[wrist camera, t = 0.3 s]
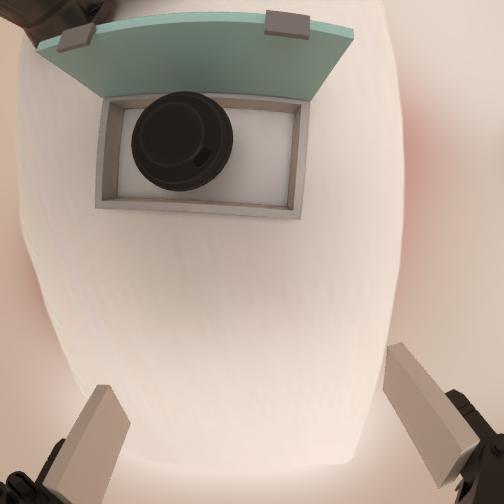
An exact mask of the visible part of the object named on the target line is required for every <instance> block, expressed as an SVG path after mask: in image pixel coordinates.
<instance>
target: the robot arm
mask: <svg viewBox="0 0 504 504" xmlns="http://www.w3.org/2000/svg"><path fill="white" fill-rule="evenodd" d="M112 5H113V0H0V17H2V18H4V19H6V20H8V21H10V22H12V23H14V24H16V25H18V26H20V27H21V28H23V29H24V31H25V32H26V34H27V36H28V37H29V39H30V41H31V42H32V44H33V45H34V47H35V48H36V49H37V48H38V45H39V42H42V41H45V40H48V39H51V38H54V37H57V36H60V35H62V33H63V31H65V30H68V29H71V28H75V27H78V26H82V25H86V24H90V23H94V24H95V25H101V24H103V22H104V21H105V19H106V18H107V16H108V14H109V12H110V10H111V8H112ZM383 391H384V393H385V394H386V396H387V398H388V399H389V401H390V403H391V405H392V406H393V408H394V409H395V411H396V413H397V415H398V416H399V418H400V420H401V422H402V423H403V425H404V427H405V429H406V430H407V432H408V434H409V436H410V438H411V439H412V441H413V443H414V444H415V446H416V448H417V450H418V452H419V454H420V455H421V457H422V459H423V461H424V463H425V465H426V466H427V468H428V470H429V472H430V474H431V476H432V477H433V479H434V481H435V483H436V485H437V487H438V489H439V488H441V487H443V486H445V485H447V484H448V483H451V482H452V481H454V480H455V479H456V478H457V476H458V475H459V474H461V475H462V477H463V479H462V480H461V482H460V483H459V484H458V486H457V487H456V489H455V491H457V490H458V489H459V491H458V494H457V498H456V501H455V504H504V434H502V433H501V434H497V433H495V431H494V430H493V429H492V428H491V427H490V425H489V424H488V423H487V422H486V421H485V420H484V418H483V417H482V416H481V415H480V413H479V412H478V411H477V410H475V407H474V406H473V405H472V404H470V401H469V400H468V399H467V398H466V397H465V395H464V394H462V393H460V392H458V391H456V390H454V389H453V390H451V391H449V392H447V393H444V392H443V391H442V390H441V389H440V387H439V386H438V385H437V384H436V383H435V381H434V380H433V379H432V378H431V376H430V375H429V374H428V373H427V372H426V370H424V368H423V367H422V366H421V365H420V363H419V362H418V361H417V360H416V359H415V358H414V356H413V355H412V354H411V353H410V352H409V351H408V349H407V348H406V347H405V346H404V344H403V343H398V344H394V345H391V346H388V347H387V356H386V367H385V376H384V385H383ZM130 424H131V422H130V421H129V419H128V417H127V415H126V414H125V412H124V410H123V408H122V407H121V405H120V403H119V401H118V399H117V397H116V396H115V394H114V392H113V390H112V388H111V386H110V385H97V387H96V388H95V390H94V392H93V393H92V395H91V397H90V398H89V400H88V402H87V403H86V405H85V407H84V408H83V410H82V412H81V414H80V415H79V417H78V419H77V420H76V422H75V424H74V426H73V428H72V429H71V431H70V433H69V435H68V436H67V438H66V439H63V438H62V439H61V440H60V441H59V442H58V443H57V444H56V445H55V446H54V448H53V450H52V452H51V455H49V457H48V461H46V463H45V465H44V466H43V468H42V470H41V472H40V474H39V476H38V478H37V479H36V481H35V483H34V482H33V481H32V480H31V479H30V478H29V477H28V476H27V475H26V474H25V473H24V472H21V471H16V472H13V473H12V474H10V475H9V476H8V478H7V480H6V485H5V484H4V483H2V482H0V504H101V503H102V500H103V497H104V494H105V492H106V489H107V486H108V483H109V480H110V477H111V474H112V472H113V469H114V466H115V464H116V461H117V458H118V455H119V453H120V450H121V447H122V445H123V442H124V440H125V437H126V434H127V432H128V429H129V427H130Z"/></svg>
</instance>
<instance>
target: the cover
mask: <svg viewBox="0 0 504 504" xmlns="http://www.w3.org/2000/svg"><path fill="white" fill-rule="evenodd" d="M353 40H354V33H353V29H350V28H346V27H342V26H338V25H333V24H329V23H324V22H318V21H313V20H310V16H308V15H301V14H295V13H288V12H279V11H270V10H266V14H258V13H242V12H190V13H174V14H163V15H154V16H146V17H138V18H132V19H126V20H120V21H115V22H110V23H105V24H101V25H95V24H94V23H90V24H86V25H82V26H78V27H75V28H71V29H68V30H65V31H63V33H62V35H60V36H57V37H54V38H51V39H48V40H45V41H42V42H39V45H38V48H37V50H36V52H38V53H39V54H40V55H42V56H43V57H45V58H46V59H48V60H49V61H51V62H52V63H54V64H55V65H56V66H58V67H59V68H61V69H62V70H64V71H65V72H66V73H68V74H69V75H71V76H72V77H74V78H75V79H76V80H78V81H79V82H81V83H82V84H83V85H85V86H86V87H88V88H89V89H90V90H92V91H93V92H95V93H96V94H97V95H99V96H100V97H101V98H104V97H112V96H121V95H132V94H146V93H166V92H180V91H191V92H222V93H242V94H256V95H267V96H277V97H286V98H294V99H301V100H308V101H311V100H312V98H313V97H314V95H315V94H316V92H317V91H318V90H319V88H320V87H321V85H322V84H323V82H324V81H325V79H326V78H327V76H328V75H329V74H330V72H331V71H332V69H333V68H334V66H335V65H336V64H337V62H338V61H339V59H340V58H341V56H342V55H343V54H344V52H345V51H346V49H347V48H348V47H349V45H350V44H351V42H352V41H353Z"/></svg>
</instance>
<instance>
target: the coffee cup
mask: <svg viewBox="0 0 504 504" xmlns="http://www.w3.org/2000/svg"><path fill="white" fill-rule="evenodd" d="M232 145H233V131H232V126H231V123H230V120H229V118H228V116H227V114H226V113H225V111H224V110H223V108H222V107H221V106H220V105H219V104H218V103H217V102H215V101H214V100H212V99H211V98H209V97H207V96H205V95H203V94H200V93H196V92H191V91H180V92H174V93H170V94H167V95H164V96H162V97H160V98H158V99H157V100H155V101H154V102H152V103H151V104H150V105H149V106H148V107H147V108H146V109H145V110H144V111H143V113H142V114H141V115H140V117H139V119H138V120H137V122H136V125H135V127H134V130H133V134H132V143H131V146H132V154H133V158H134V161H135V163H136V166H137V167H138V169H139V171H140V172H141V173H142V174H143V176H144V177H145V178H146V179H148V180H149V181H150V182H152V183H153V184H155V185H156V186H158V187H160V188H163V189H166V190H170V191H188V190H193V189H196V188H199V187H201V186H203V185H205V184H207V183H208V182H210V181H211V180H212V179H214V178H215V177H216V176H217V175H218V174H219V173H220V172H221V170H222V169H223V168H224V166H225V164H226V163H227V161H228V159H229V156H230V153H231V150H232Z"/></svg>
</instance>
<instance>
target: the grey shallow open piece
mask: <svg viewBox="0 0 504 504" xmlns="http://www.w3.org/2000/svg"><path fill="white" fill-rule="evenodd" d="M170 93H174V92H166V93H146V94H132V95H121V96H112V97H104V99H103V106H102V113H101V121H100V130H99V139H98V151H97V165H96V187H95V208H104V209H137V210H161V211H182V212H200V213H217V214H233V215H247V216H261V217H273V218H286V219H297V220H301V210H302V200H303V189H304V178H305V166H306V153H307V139H308V124H309V108H310V101H308V100H301V99H294V98H286V97H277V96H267V95H256V94H242V93H222V92H196V93H200V94H203V95H205V96H207V97H209V98H211V99H212V100H214V101H215V102H217V103H218V104H219V105H220V106H221V107H227V108H244V109H258V110H269V111H279V112H287V113H295V114H294V129H293V142H292V156H291V168H290V180H289V192H288V203H287V207H283V206H271V205H258V204H245V203H230V202H214V201H196V200H175V199H147V198H117V185H118V165H119V151H120V139H121V129H122V120H123V112H124V109H132V108H147V107H148V106H149V105H150V104H151V103H152V102H154V101H155V100H157V99H158V98H160V97H162V96H164V95H167V94H170Z"/></svg>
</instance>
